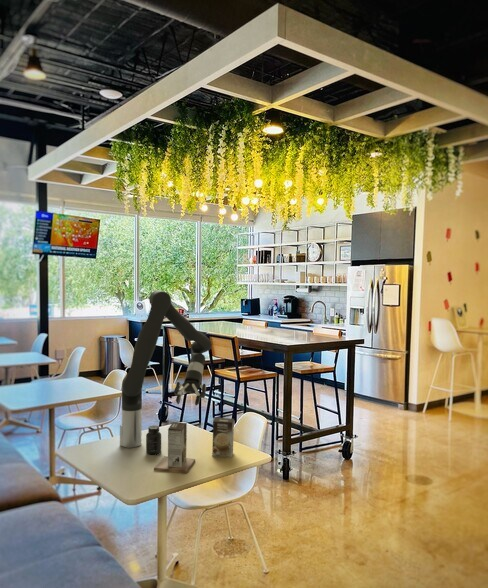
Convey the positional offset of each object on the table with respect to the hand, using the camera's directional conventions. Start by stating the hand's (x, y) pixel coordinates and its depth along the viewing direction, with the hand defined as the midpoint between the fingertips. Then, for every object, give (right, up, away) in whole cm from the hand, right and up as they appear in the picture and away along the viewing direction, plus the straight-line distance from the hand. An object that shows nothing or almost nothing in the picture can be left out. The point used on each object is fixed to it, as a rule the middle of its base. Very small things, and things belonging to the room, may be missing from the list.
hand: (186, 403), depth 216 cm
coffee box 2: (+16, -23, +1) cm, 28 cm away
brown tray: (-3, -23, -13) cm, 27 cm away
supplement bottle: (-15, -23, +1) cm, 27 cm away
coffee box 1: (-3, -22, -13) cm, 26 cm away
